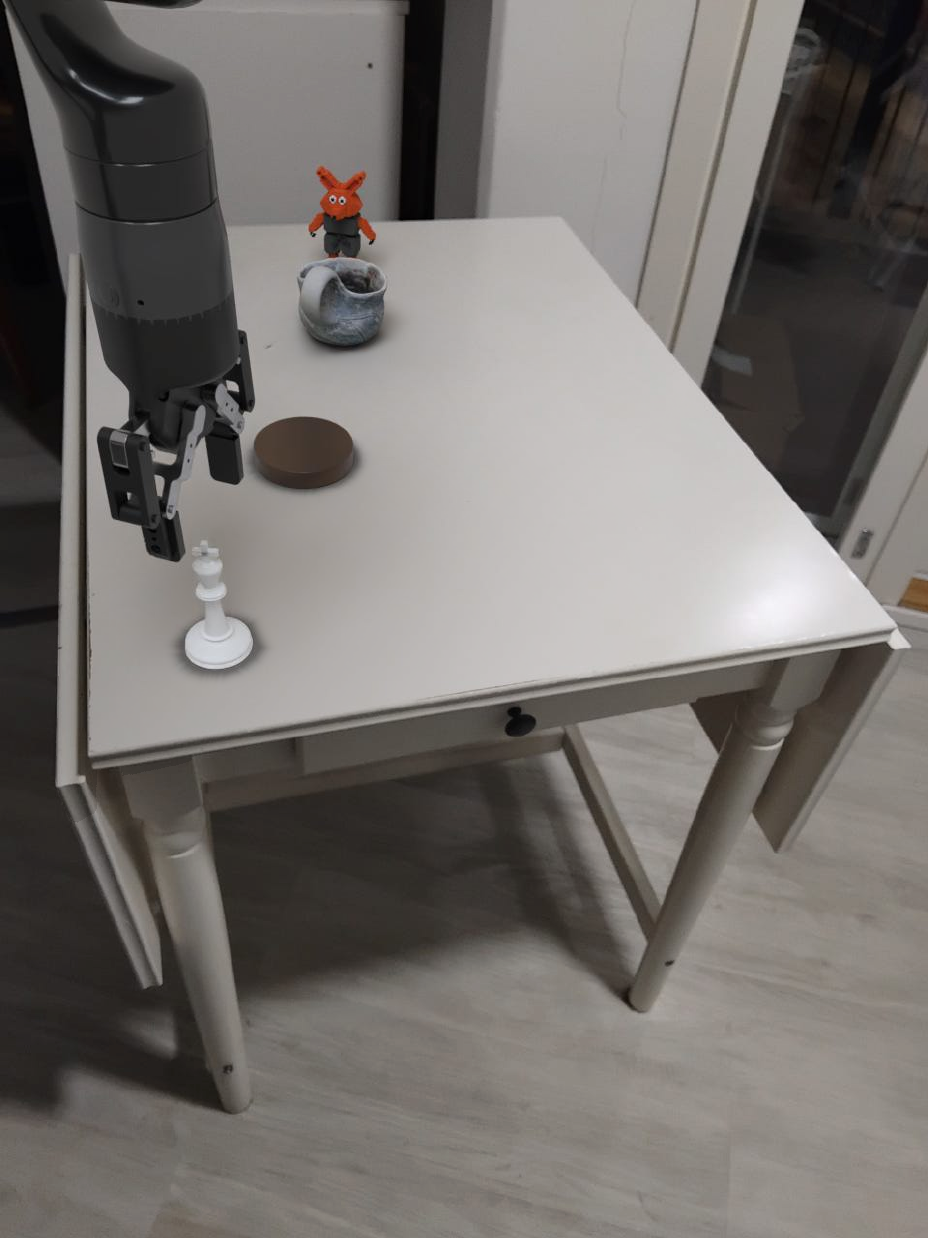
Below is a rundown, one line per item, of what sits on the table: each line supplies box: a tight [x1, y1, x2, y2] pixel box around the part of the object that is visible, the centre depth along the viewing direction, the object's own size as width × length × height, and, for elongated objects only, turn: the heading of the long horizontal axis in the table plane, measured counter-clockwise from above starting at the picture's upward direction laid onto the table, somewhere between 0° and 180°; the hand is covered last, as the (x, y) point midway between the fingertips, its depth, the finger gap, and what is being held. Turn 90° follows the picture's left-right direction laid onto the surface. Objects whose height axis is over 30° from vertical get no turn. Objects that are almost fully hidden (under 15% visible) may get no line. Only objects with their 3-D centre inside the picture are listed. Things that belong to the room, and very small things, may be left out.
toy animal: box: [307, 165, 377, 259], centre depth 111 cm, size 8×6×12 cm
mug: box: [296, 256, 388, 347], centre depth 100 cm, size 10×12×10 cm
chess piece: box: [184, 539, 254, 670], centre depth 67 cm, size 5×5×10 cm
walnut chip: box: [253, 415, 354, 490], centre depth 87 cm, size 9×9×2 cm
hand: (199, 516), depth 62 cm, fingers open, 8 cm apart
